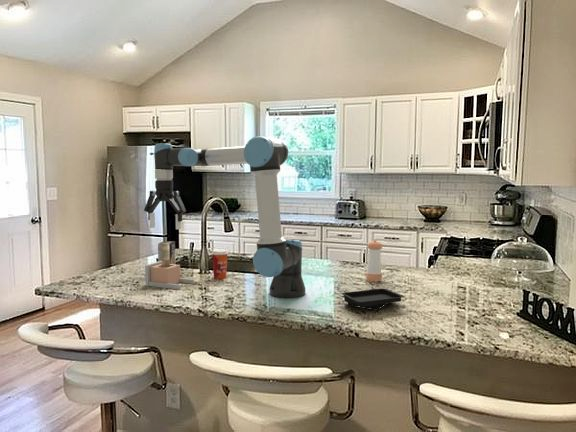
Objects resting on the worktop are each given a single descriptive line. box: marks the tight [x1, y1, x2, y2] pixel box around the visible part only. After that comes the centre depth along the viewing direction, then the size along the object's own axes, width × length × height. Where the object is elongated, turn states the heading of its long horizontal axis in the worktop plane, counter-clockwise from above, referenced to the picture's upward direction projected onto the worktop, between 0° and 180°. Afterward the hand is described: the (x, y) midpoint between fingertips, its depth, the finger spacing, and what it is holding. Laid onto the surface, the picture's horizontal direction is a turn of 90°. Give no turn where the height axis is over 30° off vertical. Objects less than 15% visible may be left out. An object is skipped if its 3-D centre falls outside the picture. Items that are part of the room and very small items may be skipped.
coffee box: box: [157, 240, 176, 264], centre depth 231 cm, size 9×6×16 cm
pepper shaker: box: [365, 239, 383, 282], centre depth 222 cm, size 7×7×19 cm
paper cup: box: [211, 248, 229, 280], centre depth 221 cm, size 8×8×14 cm
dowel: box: [160, 242, 170, 268], centre depth 208 cm, size 3×3×14 cm
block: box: [151, 263, 181, 285], centre depth 208 cm, size 9×9×8 cm
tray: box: [340, 288, 405, 310], centre depth 182 cm, size 30×23×5 cm
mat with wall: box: [144, 260, 195, 290], centre depth 211 cm, size 19×20×10 cm
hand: (165, 228), depth 206 cm, fingers open, 13 cm apart
